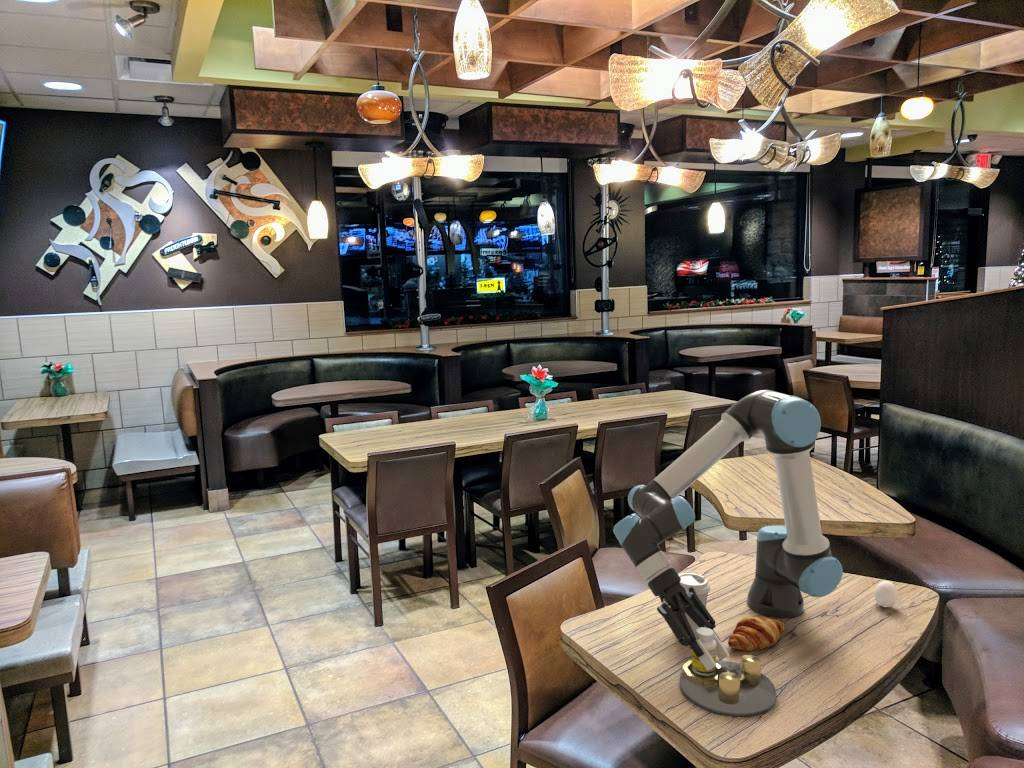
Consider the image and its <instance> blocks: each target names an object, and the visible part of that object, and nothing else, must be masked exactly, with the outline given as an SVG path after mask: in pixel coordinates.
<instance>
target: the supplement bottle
mask: <svg viewBox="0 0 1024 768" xmlns="http://www.w3.org/2000/svg"><path fill="white" fill-rule="evenodd" d="M713 630H714V629H713ZM713 630H712V629H710V628H706V627H700V628H698V629H697V630H696V639H697V640H699V639H700V640H701V642H702V643H703V645H704V646H705V648H706V649H707V651H708V652H709V654H710V655H711V657H712V658H713V660H714V661H715V663H716V660H717V655H716V648H717V644H716V641H715V640H714V631H715V630H714V631H713ZM697 640H696V641H697ZM691 650H692V649H691ZM691 653H692V654H691V660H692V670H693V671H694V672H695V673H697V674H699V675H702V676H710V675H713V674H714V673H715V670H716V666H715V667H713V668H712V669H710V670H708V671H707V670H706V668H705V667H704V665H703V664H702V662H701V661H700V659H699V658H698V657H697V656H696V655H695V653H694V652H693V650H692V652H691Z"/></svg>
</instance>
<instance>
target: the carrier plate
mask: <svg viewBox="0 0 1024 768" xmlns="http://www.w3.org/2000/svg"><path fill="white" fill-rule="evenodd" d="M716 664H717V665H716V670H715V673H714V674H713V675H710V676H702V675H699V674H697V673H695V672H694V671H693V670H692V659H688V660H687V661H686V662H685V663H684V664H683V665H682V667H681V672H680V675H679V689H680V692H681V694H683V696H684V698H686V699H687V700H688V701H689V702H690V703H691V704H693V705H694V706H696V707H698V708H700V709H702V710H704V711H706V712H709V713H712V714H714V715H718V716H722V715H723V717H727V716H731V717H730V718H738V717H744V718H751V717H752V718H754V717H757V716H761V715H763V714H766V713H768V712H769V711H771V710H772V708H774V706H775V705H776V700H777V699H776V698H777V690H776V687H775V685H774V683H773V681H771V679H770V678H769V677H767V676H766V675H765V674H764V673H762V672H761V671H762V659H761V658H759V656H756V655H752V654H744V655H742V656H741V660H740V663H738V662H734V661H731V660H730V661H729V660H721V661H720V660H719V659H716ZM753 716H754V717H753Z"/></svg>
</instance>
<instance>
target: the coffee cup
mask: <svg viewBox="0 0 1024 768" xmlns="http://www.w3.org/2000/svg"><path fill="white" fill-rule="evenodd" d="M678 575H679V577H680V578H681V581H680V584H681V586H683V587H684V588H685V589H689V588H690V587H693V588H694V590H695V592H696V595H697V596H698V598H699V599H700V601H701V602H702V604H703V605H704V606H705V608H706V609H707V602H708V597H709V592H710V591H711V585H710V582H709V581H708V578H706V577H705V576H703V575H701V574H697V573H693V572H692V573H691V572H685V573H679V574H678ZM685 615H686V617H687V619H688V622H689V624H690V626H691V628H692V630H693V632H694V635H695V637H696V630H697V629H698V628H699V627H698V626H697V624H696V623H695V622H694V621H693V620H692V619H691V618H690V617H689V616H688V615H687V614H686V613H685ZM689 637H690V636H689Z"/></svg>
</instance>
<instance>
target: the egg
mask: <svg viewBox="0 0 1024 768" xmlns="http://www.w3.org/2000/svg"><path fill="white" fill-rule="evenodd" d="M873 595H874V596H873V597H874V600H875V601H876V604H878V605H879V606H880V605H882V606H887V607H889V608H892V607H894V606H895V605H896V604H897V602H898V599H899V592H898V589H897V588H896V586H895V584H893V583H892V582H891V581H889V580H883V581H880V582H879V583H878V584H877V585H876V587H875V589H874V593H873ZM882 606H881V607H882ZM891 606H892V607H891Z"/></svg>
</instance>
